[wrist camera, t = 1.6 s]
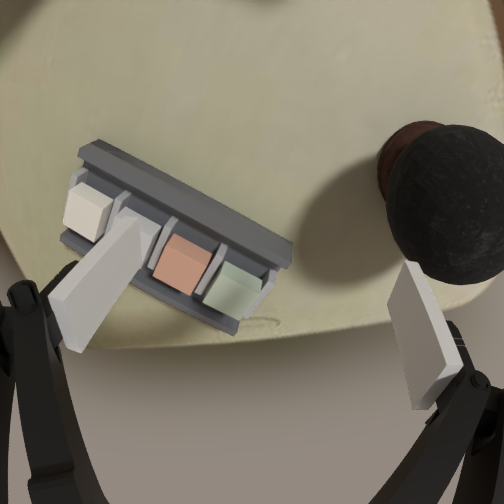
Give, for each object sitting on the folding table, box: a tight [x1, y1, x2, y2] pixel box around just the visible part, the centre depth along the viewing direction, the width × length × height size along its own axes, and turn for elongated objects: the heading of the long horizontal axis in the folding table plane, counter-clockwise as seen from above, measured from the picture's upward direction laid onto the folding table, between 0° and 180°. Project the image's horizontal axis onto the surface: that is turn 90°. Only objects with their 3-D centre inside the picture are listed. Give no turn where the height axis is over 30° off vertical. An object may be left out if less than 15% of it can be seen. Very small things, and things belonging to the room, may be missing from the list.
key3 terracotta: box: [153, 233, 212, 296], centre depth 34 cm, size 4×4×2 cm
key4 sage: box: [203, 261, 262, 321], centre depth 34 cm, size 4×4×2 cm
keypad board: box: [60, 139, 292, 336], centre depth 36 cm, size 25×13×4 cm, turn 61°
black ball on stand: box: [377, 121, 504, 285], centre depth 23 cm, size 13×13×15 cm
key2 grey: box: [111, 206, 162, 269], centre depth 33 cm, size 4×4×2 cm
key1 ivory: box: [63, 182, 114, 242], centre depth 32 cm, size 4×4×2 cm
